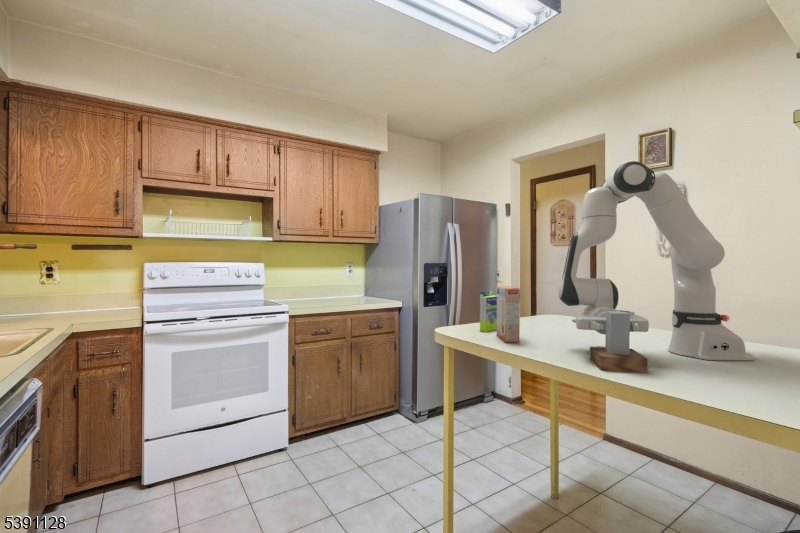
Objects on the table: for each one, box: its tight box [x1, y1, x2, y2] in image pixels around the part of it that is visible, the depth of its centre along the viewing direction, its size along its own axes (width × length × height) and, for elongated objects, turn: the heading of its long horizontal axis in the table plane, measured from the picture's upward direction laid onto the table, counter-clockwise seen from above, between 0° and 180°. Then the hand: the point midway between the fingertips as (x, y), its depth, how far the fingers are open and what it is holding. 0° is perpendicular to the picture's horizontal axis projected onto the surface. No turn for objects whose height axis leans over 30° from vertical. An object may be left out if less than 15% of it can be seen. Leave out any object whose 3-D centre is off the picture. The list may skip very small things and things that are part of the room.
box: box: [479, 290, 497, 333], centre depth 171 cm, size 10×4×17 cm, turn 132°
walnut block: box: [589, 346, 648, 374], centre depth 114 cm, size 12×12×4 cm
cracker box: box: [495, 285, 521, 344], centre depth 152 cm, size 14×6×21 cm, turn 179°
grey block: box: [604, 310, 631, 355], centre depth 114 cm, size 5×5×12 cm
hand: (618, 328), depth 113 cm, fingers open, 8 cm apart
